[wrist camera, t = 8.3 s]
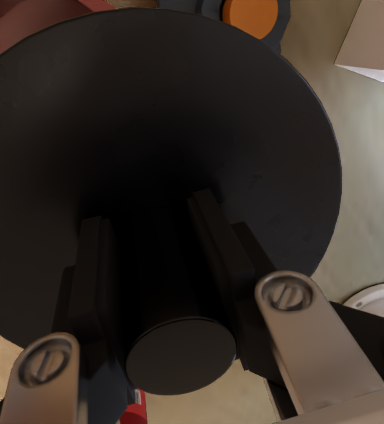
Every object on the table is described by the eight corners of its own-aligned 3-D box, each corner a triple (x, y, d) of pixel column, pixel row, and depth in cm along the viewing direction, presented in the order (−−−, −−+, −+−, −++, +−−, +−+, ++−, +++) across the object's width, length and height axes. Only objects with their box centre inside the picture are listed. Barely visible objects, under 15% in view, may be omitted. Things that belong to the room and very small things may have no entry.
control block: (144, -56, 22) (148, -68, 19) (265, -79, 23) (288, -94, 20) (174, 97, 28) (181, 106, 25) (273, 75, 28) (292, 81, 25)
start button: (219, -10, 22) (226, -13, 20) (266, -20, 22) (277, -23, 21) (225, 44, 24) (232, 45, 22) (269, 34, 24) (279, 35, 22)
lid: (332, -34, 9) (580, -94, 4) (319, 300, 16) (411, 426, 11) (-170, 64, 8) (-604, 135, 3) (42, 379, 15) (8, 558, 10)
